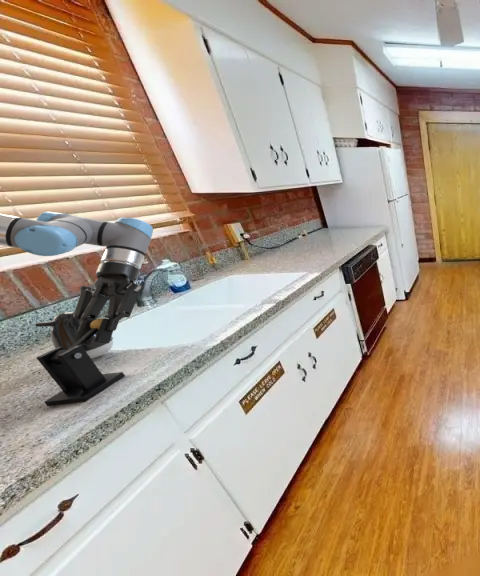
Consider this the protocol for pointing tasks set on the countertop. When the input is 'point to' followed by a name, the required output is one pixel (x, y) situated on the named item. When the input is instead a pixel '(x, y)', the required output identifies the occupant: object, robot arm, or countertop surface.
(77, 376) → the black lever base
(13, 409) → the countertop surface
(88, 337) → the tap lever
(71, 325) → the dark glossy oval piece
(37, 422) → the countertop surface
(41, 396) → the countertop surface
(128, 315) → the robot arm
